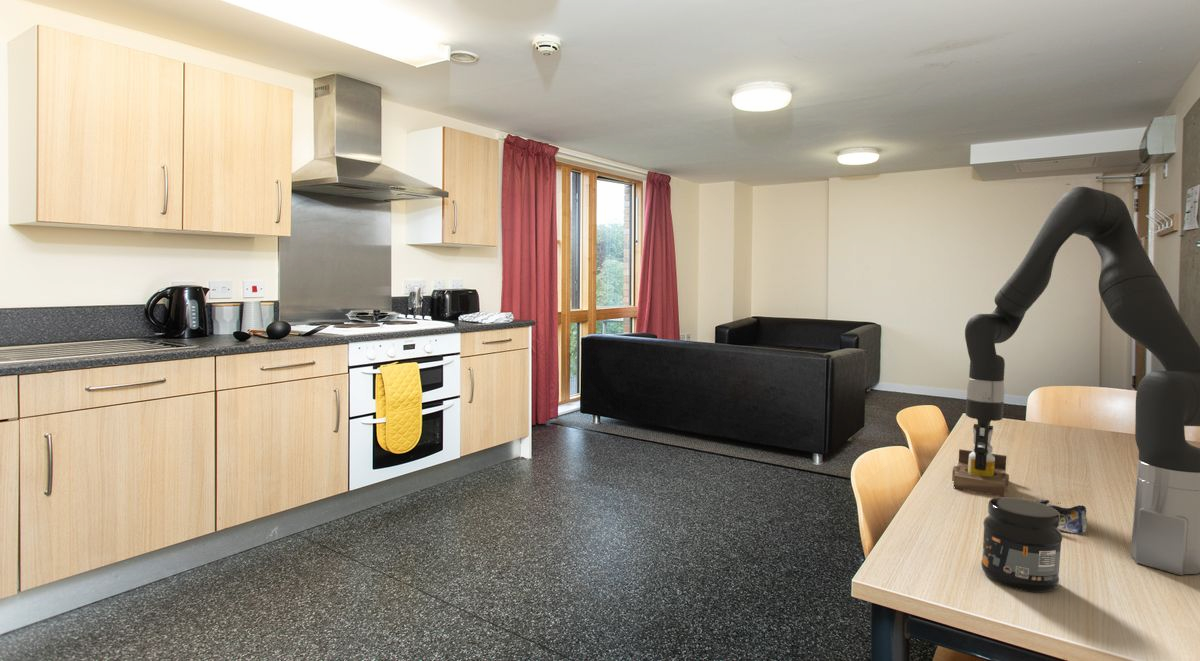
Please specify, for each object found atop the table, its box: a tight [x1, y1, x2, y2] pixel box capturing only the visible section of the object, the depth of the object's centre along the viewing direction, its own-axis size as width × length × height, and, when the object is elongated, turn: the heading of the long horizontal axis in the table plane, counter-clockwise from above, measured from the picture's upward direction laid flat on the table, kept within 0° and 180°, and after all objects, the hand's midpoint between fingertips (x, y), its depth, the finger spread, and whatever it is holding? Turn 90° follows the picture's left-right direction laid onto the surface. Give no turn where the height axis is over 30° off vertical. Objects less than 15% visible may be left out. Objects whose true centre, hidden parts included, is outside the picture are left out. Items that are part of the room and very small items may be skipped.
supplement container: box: [980, 496, 1063, 593], centre depth 101 cm, size 10×10×12 cm
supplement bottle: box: [968, 443, 995, 476], centre depth 150 cm, size 5×5×10 cm
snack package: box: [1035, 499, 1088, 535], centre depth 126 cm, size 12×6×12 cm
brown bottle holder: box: [951, 448, 1010, 497], centre depth 151 cm, size 15×11×6 cm
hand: (980, 465), depth 150 cm, fingers open, 8 cm apart
